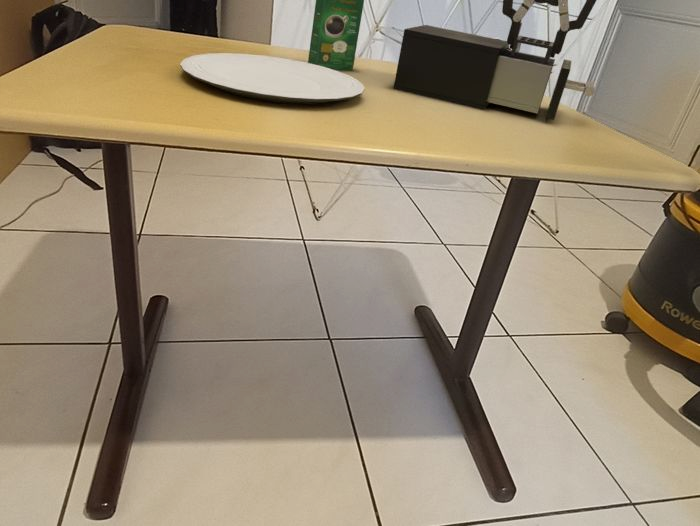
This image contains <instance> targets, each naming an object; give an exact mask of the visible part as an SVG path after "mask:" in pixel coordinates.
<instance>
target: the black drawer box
mask: <svg viewBox="0 0 700 526" xmlns="http://www.w3.org/2000/svg"><path fill="white" fill-rule="evenodd" d="M509 48H510V44H507V40H502V39H497V38H493V37H487V36H483V35H478V34H473V33H467V32H463V31H459V30H458V31H457V30H453V29H448V28H443V27H439V26H433V25H428V24H423V25H419V26H414V27H408V28H404V30H403V35H402V40H401V46H400V51H399V56H398V61H397V66H396V73H395V78H394V82H393V90H396V91H401V92H405V93H410V94H413V95H418V96H422V97H426V98H432V99H435V100H439V101H444V102H449V103H452V104H456V105H460V106H465V107H470V108H473V109H479V110H483V111H484V110H486V109H487V107H488V106H489V105H490V103H489V102H487V99H488V95H489V91H490V87H491V84H492V80H493V76H494V73H495V69H496V65H497V61H498V58H499V54H500V53H501V52H502V51H504V50H505V49H507V50H509Z"/></svg>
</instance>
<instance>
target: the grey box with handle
mask: <svg viewBox="0 0 700 526" xmlns="http://www.w3.org/2000/svg"><path fill="white" fill-rule="evenodd" d="M511 51H512V49H508V50H507V49H505V50H504V51H502V52H501V53H500V54H499V58H498V61H497V65H496V69H495V73H494V76H493V80H492V84H491V87H490V91H489V95H488V99H487V102H489V104H495V105H498V106H502V107H507V108H510V109H511V108H512V109H516V110H520V111H523V112H529V113H533V114H538V113H539V112H540V108H541V105H542V102H543V99H544V96H545V93H546V90H547V86H548V83H549V81H550V77H551V73H552V71H553V67H554V64H555V61H556V59H555V58H552V57H550V59H549V61H548V63H547V64H546V63H543V62H544V59H545V56H541V55H537V54H536V55H535V54H531V53H527V52H522V51H519V52H518V53H517V54H516V55H515V56H514V57H513V56H510V55H511ZM571 68H572V60H569V59H563V61H562V64H561V66H560V70H559V73H558V76H557V79H556V82H555V85H554V89H553V92H552V95H551V98H550V101H549V105H548V108H547V112H546V115H545V119H547V120H550V121H555V118H556V114H557V112H558V109H559V106H560V102H561V99H562V96H563V93H564V91H565V89H566V90H572V91H577V92H581V93H584V95H585V96H586V97H592V96H593V95H594V94H595V85H594V82H593V81H590V80H589V81H586V82H582V81H577V80H571V79H569V75H570V72H571Z"/></svg>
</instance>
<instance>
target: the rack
mask: <svg viewBox="0 0 700 526" xmlns="http://www.w3.org/2000/svg"><path fill="white" fill-rule="evenodd" d="M522 44H524V45H529V46H533V47H537V48H543V49H547V50H546V53H545V56H544V57H545V59H544V62H543V63H546V64H547V63H548V61H549V59H550V58H551V57H550V55H551V52H552V48H553V44H554V41H548V40H543V39H538V38H533V37H528V36H524V35H519V36H518V37H517V38H516V39H515V40H514V44H513V47H512V49H511V50H512V51H511V55H510V56H513V57H514V56H515V55H516V54H517V53H518V52H520V49H521V46H522Z"/></svg>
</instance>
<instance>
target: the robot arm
mask: <svg viewBox="0 0 700 526" xmlns="http://www.w3.org/2000/svg"><path fill="white" fill-rule="evenodd" d="M568 1H569V0H523V2H522V3H521V5H520V6H519V7H518V9H515V8H513V7H514V0H502V8H501V9H502V11H501V12H502V15H504V16H506V18H509V19H510V20H511V24H510V28H509V31H508V35H507V39H506V41H507V44H510V45H509V48H508V50H512V47H513V44H514V40H515V39H516V38H517V37H519V36H520V32H521V29H522V25H523V23H522V20H523V18H524V17H525V16H526V14H527V13H528V11H530V9H531V8H532V6H533V5H534V4H535V3H536V4H548V5H549V6H552V7H558V16H559V29H558V30H557V31H556V34H555V38H554V41H553V42H554V44H553V48H552V52H551V55H550V58H551V59H555V56H556V55H560V53H561V52H562V51H563V47H564V43H565V40H566V37H567V34H568V33H569V32H570V31H574V30H575V31H576V30H580V29H582V28H583V27H584V25H585V23H586V21H587V19H588V17H589V16H590V14H591V12H592V10H593V8H594V7H595V4H596V2H597V0H585V2H584V5H583V6H582V8H581V10H580V12H579V14H578V16H577V18H576V19H575V20H570V14H569V13H570V11H569V2H568Z"/></svg>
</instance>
